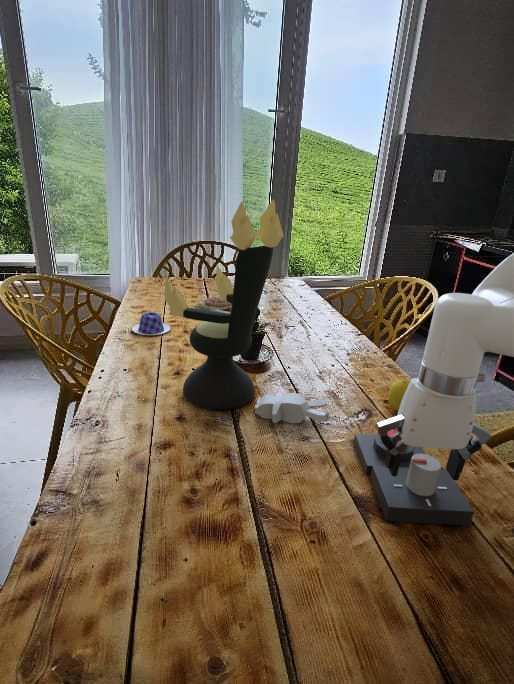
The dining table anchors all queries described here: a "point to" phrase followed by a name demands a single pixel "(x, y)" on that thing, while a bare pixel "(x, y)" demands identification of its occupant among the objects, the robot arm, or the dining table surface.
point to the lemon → (397, 394)
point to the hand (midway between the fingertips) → (421, 472)
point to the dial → (423, 474)
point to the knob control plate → (420, 499)
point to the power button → (392, 433)
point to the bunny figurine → (289, 408)
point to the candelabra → (229, 317)
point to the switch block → (380, 452)
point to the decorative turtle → (214, 304)
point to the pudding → (151, 325)
